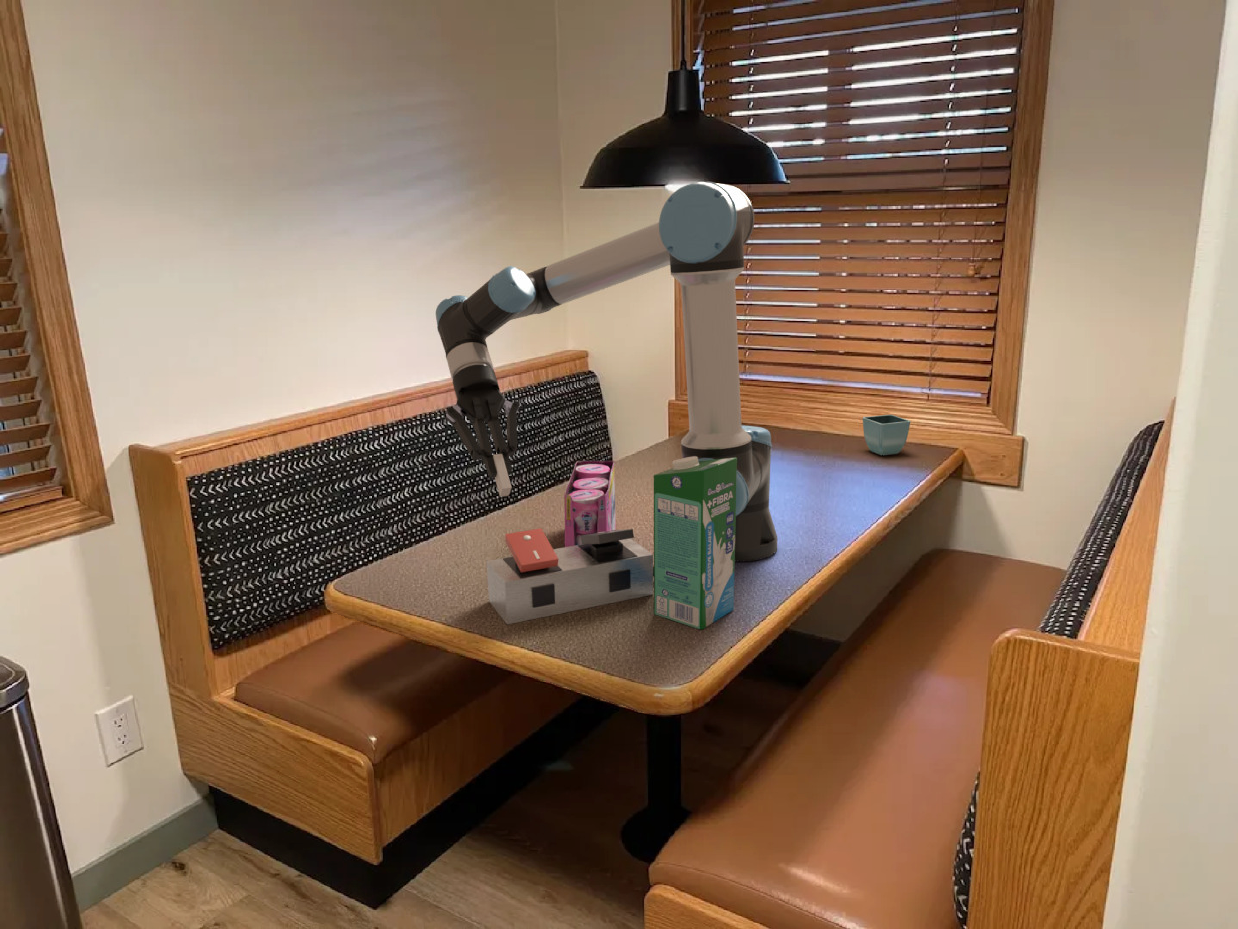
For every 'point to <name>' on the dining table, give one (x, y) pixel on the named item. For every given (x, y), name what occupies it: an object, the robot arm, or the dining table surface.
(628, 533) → the black rocker
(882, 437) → the flower pot
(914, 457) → the dining table surface
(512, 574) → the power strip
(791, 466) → the dining table surface
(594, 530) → the gum box
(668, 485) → the milk carton
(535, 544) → the red rocker
